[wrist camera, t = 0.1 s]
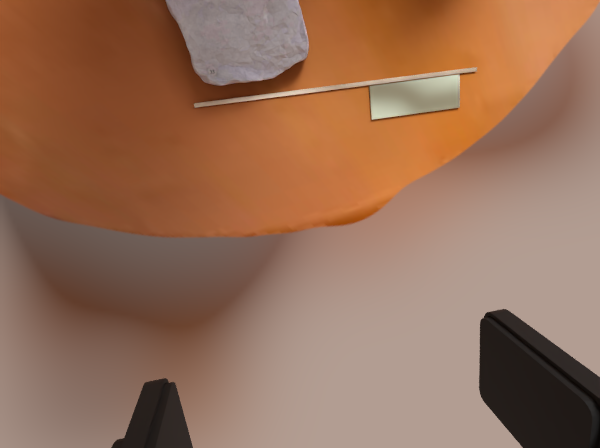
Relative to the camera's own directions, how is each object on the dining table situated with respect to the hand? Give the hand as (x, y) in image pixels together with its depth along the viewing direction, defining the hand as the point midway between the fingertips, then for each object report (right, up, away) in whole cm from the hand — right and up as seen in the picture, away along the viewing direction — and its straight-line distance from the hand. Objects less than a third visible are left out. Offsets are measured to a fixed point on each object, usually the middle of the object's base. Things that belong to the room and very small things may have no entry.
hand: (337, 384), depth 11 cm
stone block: (-7, +23, +25) cm, 35 cm away
